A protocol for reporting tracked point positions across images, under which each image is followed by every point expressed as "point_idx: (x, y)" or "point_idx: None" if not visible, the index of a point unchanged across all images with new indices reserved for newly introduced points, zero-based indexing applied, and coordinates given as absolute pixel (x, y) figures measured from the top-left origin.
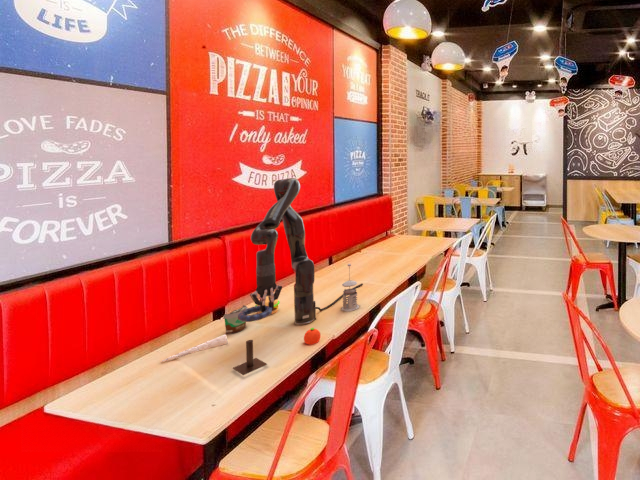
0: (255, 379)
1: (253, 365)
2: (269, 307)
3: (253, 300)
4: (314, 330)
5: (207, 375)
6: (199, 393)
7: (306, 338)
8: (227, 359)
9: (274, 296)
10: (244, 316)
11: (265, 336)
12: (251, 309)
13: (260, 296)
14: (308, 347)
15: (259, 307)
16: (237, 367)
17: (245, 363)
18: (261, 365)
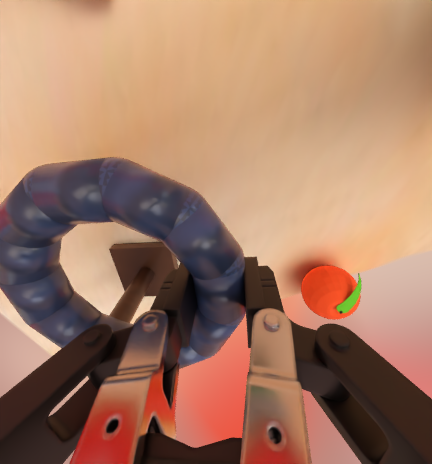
0: (149, 310)
1: (153, 278)
2: (221, 333)
3: (13, 402)
4: (340, 318)
5: None
6: None
7: (305, 300)
8: (108, 156)
9: (334, 379)
10: (36, 330)
11: (273, 53)
12: (95, 221)
13: (102, 431)
14: (300, 281)
15: (166, 245)
16: (119, 257)
17: (139, 254)
18: None
